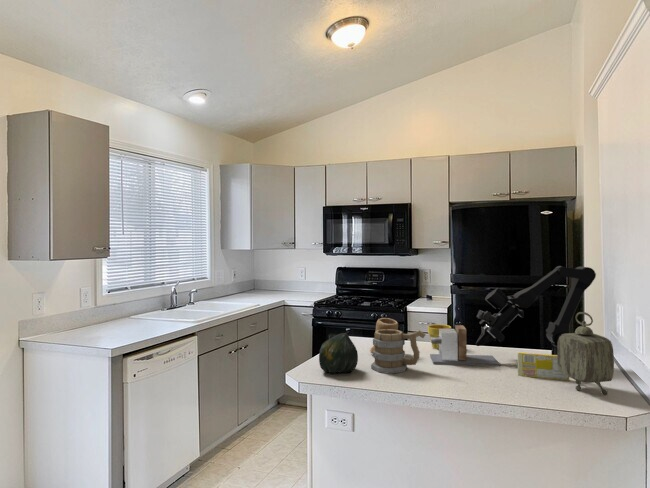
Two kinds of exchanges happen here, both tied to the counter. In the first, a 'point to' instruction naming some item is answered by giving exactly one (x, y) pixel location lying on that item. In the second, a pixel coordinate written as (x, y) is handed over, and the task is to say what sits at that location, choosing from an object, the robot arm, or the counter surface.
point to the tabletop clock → (586, 356)
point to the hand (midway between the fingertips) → (476, 345)
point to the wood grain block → (460, 340)
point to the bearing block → (448, 345)
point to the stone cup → (385, 326)
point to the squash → (338, 354)
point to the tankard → (393, 350)
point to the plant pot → (436, 332)
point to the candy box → (539, 366)
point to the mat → (468, 360)
